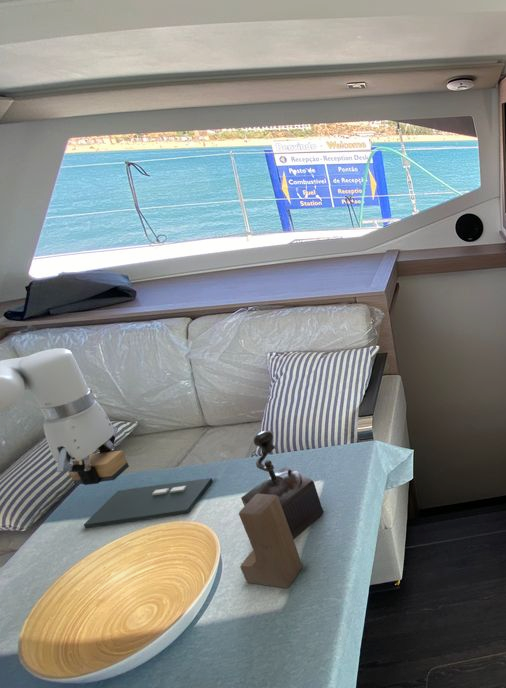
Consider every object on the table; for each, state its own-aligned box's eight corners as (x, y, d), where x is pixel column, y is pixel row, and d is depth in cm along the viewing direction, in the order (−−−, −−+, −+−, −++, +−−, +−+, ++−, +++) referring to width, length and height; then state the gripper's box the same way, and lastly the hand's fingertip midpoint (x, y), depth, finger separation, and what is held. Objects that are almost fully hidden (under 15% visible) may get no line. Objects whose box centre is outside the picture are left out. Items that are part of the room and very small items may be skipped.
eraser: (75, 485, 91) (66, 468, 90) (92, 470, 96) (84, 454, 94) (114, 480, 92) (106, 463, 91) (129, 466, 96) (122, 450, 95)
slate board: (85, 528, 93) (83, 524, 92) (119, 493, 102) (117, 490, 102) (188, 513, 94) (186, 509, 94) (213, 480, 104) (211, 477, 103)
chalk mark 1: (152, 495, 99) (151, 493, 99) (156, 491, 100) (155, 489, 100) (166, 493, 99) (165, 491, 99) (169, 490, 100) (168, 488, 100)
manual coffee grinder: (327, 510, 92) (308, 444, 86) (280, 550, 83) (254, 481, 77) (286, 486, 100) (265, 425, 94) (239, 521, 91) (213, 455, 85)
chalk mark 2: (170, 493, 99) (169, 491, 99) (173, 489, 101) (172, 487, 100) (183, 491, 100) (182, 489, 99) (186, 487, 101) (185, 485, 101)
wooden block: (246, 583, 77) (214, 510, 71) (263, 561, 81) (235, 490, 75) (288, 589, 76) (259, 515, 69) (303, 566, 80) (278, 494, 73)
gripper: (83, 387, 95) (114, 452, 101) (8, 432, 79) (49, 506, 85) (119, 383, 96) (146, 448, 102) (51, 427, 80) (88, 501, 86)
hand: (102, 474), depth 94 cm, fingers closed on eraser, 4 cm apart
